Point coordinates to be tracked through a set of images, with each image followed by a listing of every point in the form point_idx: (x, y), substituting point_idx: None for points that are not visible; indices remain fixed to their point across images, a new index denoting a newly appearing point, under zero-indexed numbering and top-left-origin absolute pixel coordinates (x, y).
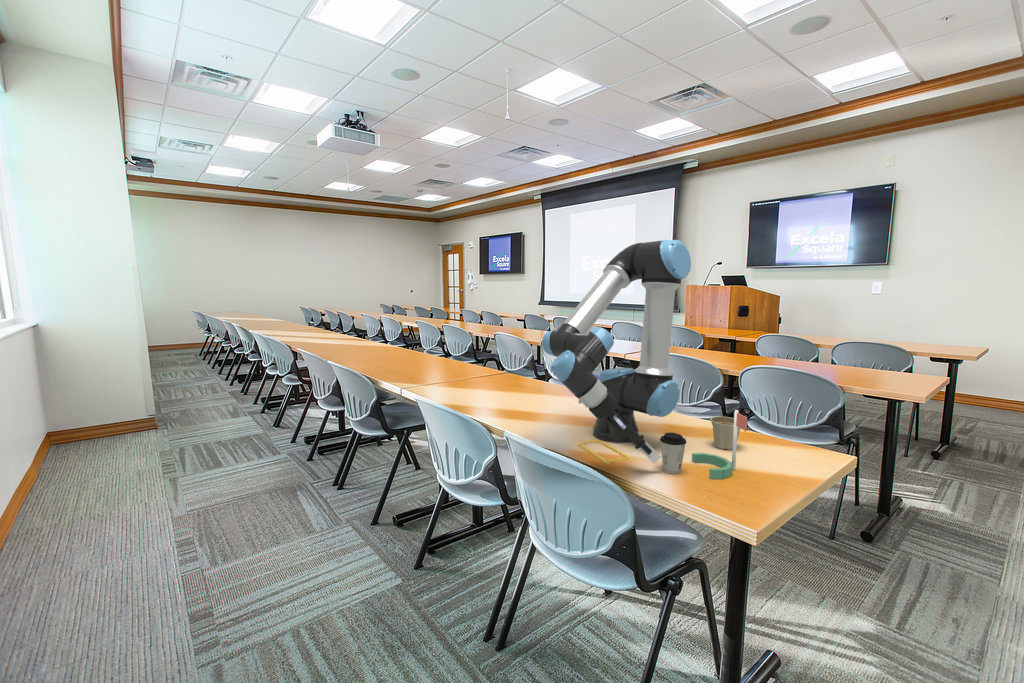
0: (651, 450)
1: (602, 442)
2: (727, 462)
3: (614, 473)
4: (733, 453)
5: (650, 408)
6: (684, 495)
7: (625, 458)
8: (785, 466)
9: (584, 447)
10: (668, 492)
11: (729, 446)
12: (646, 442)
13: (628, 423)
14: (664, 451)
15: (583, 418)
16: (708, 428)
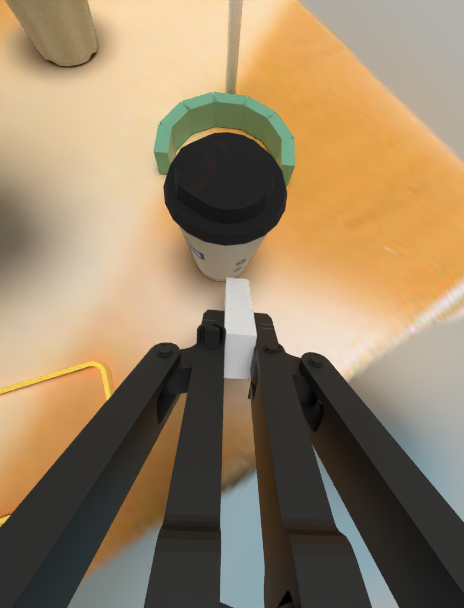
0: (270, 318)
1: None
2: (240, 102)
3: (228, 465)
4: (236, 59)
5: None
6: (387, 295)
7: (108, 380)
8: (221, 11)
9: None
10: (372, 331)
11: (94, 38)
12: (255, 330)
13: (343, 546)
14: (241, 255)
15: None
16: None
